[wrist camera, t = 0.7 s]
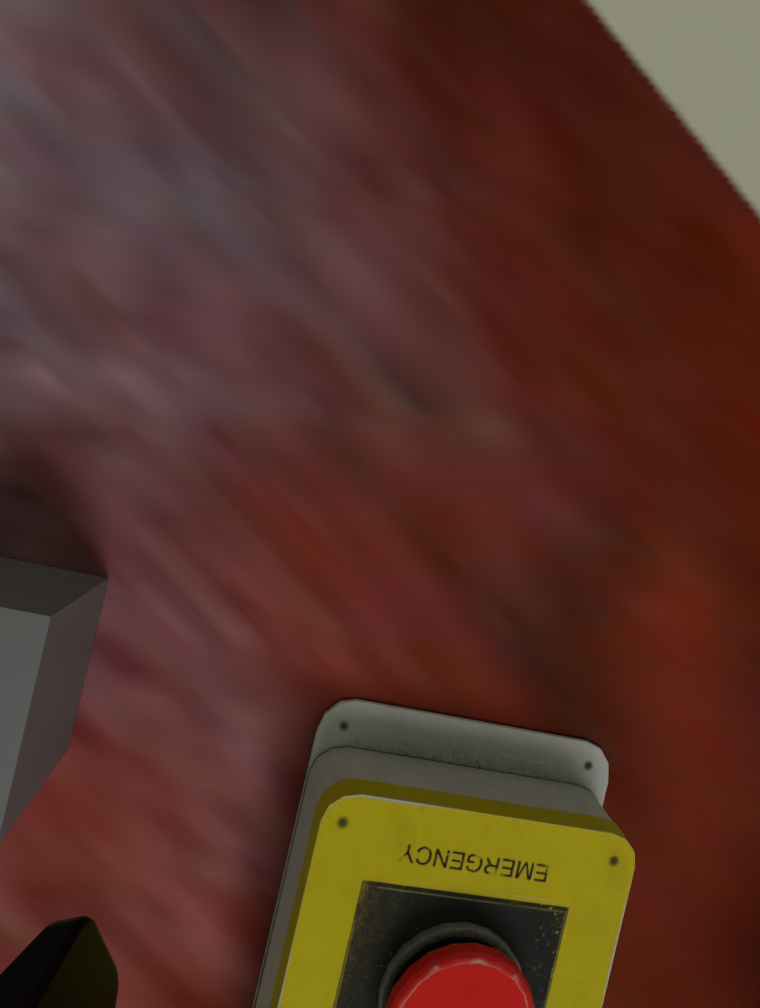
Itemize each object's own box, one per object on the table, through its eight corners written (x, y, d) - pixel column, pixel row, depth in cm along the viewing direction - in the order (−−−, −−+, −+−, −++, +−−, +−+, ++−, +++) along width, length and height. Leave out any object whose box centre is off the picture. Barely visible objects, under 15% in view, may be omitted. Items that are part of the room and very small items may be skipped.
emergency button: (689, 804, 18) (556, 1366, 18) (606, 738, 22) (500, 1191, 22) (337, 745, 16) (195, 1362, 16) (323, 687, 20) (210, 1174, 21)
